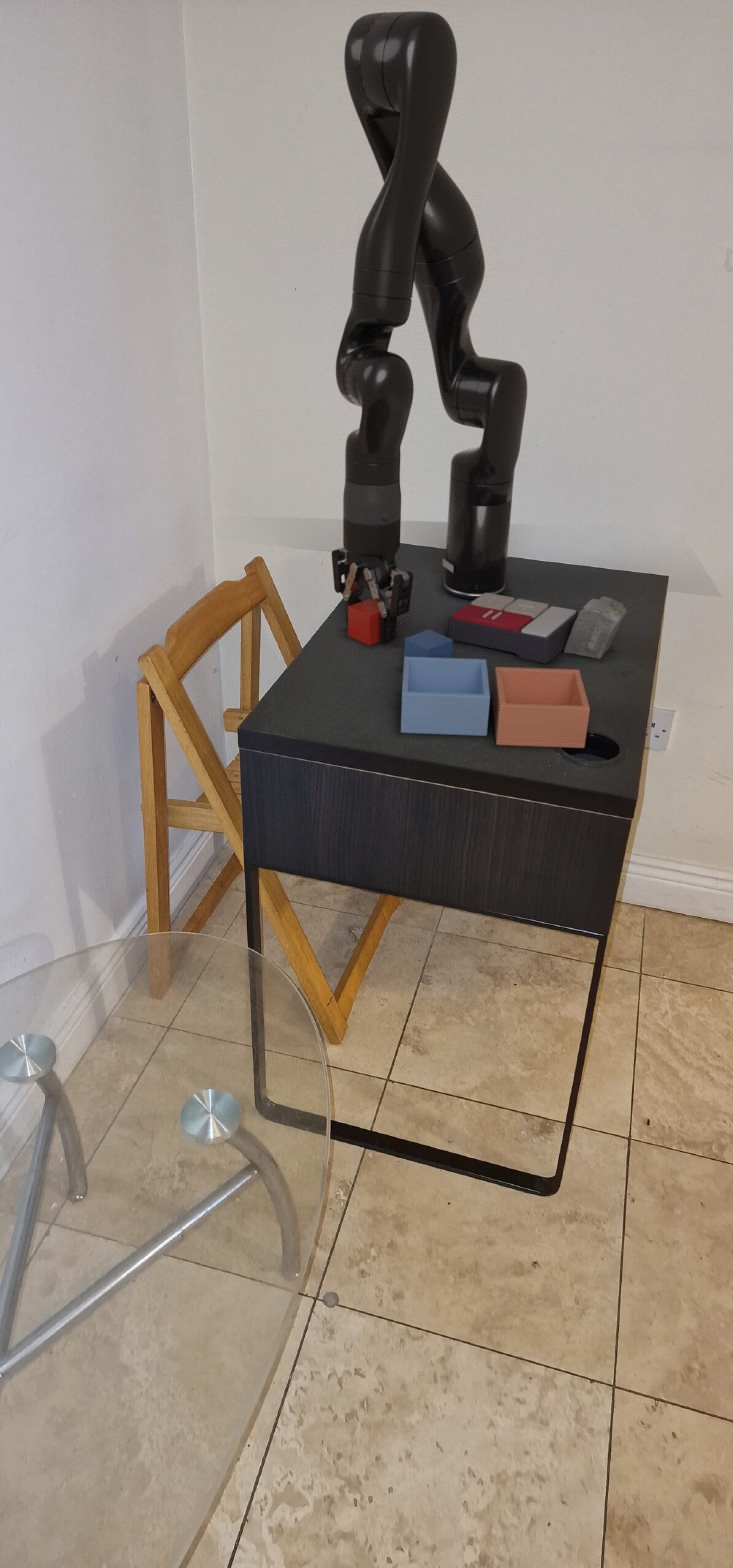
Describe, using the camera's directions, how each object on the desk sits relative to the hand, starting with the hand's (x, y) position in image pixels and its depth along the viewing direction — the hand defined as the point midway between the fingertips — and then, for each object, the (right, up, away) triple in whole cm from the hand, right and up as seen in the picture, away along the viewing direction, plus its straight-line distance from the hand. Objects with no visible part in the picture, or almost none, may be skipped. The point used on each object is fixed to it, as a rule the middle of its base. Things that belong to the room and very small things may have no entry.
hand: (370, 632), depth 141 cm
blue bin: (+9, -13, -19) cm, 24 cm away
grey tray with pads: (+20, -1, +1) cm, 20 cm away
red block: (0, -1, 0) cm, 1 cm away
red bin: (+20, -14, -21) cm, 32 cm away
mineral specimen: (+30, -4, -3) cm, 30 cm away
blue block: (+7, -6, -8) cm, 13 cm away
